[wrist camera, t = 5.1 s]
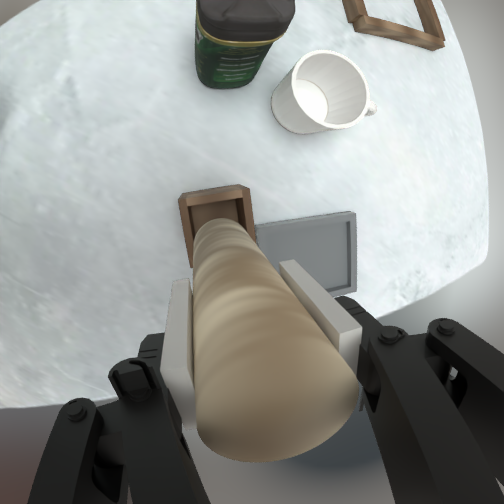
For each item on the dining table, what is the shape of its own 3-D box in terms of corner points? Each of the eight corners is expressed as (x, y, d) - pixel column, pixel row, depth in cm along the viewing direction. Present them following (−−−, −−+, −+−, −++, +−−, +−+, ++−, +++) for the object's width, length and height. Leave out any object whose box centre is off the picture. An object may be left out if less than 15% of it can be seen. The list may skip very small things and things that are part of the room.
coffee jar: (258, 88, 33) (310, 28, 16) (197, 92, 32) (197, 27, 14) (252, 27, 30) (292, -53, 13) (193, 30, 29) (195, -56, 12)
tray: (264, 306, 42) (267, 311, 40) (255, 225, 38) (257, 227, 36) (351, 286, 44) (356, 291, 42) (349, 211, 40) (355, 213, 38)
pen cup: (191, 247, 37) (190, 268, 30) (182, 193, 35) (177, 199, 28) (246, 238, 38) (258, 256, 31) (238, 184, 36) (249, 188, 29)
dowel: (199, 277, 23) (216, 472, 7) (188, 223, 22) (174, 376, 6) (252, 267, 24) (350, 437, 8) (246, 214, 22) (366, 333, 6)
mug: (261, 128, 35) (283, 114, 25) (274, 68, 33) (299, 38, 23) (337, 149, 37) (379, 145, 27) (347, 92, 35) (388, 75, 25)
